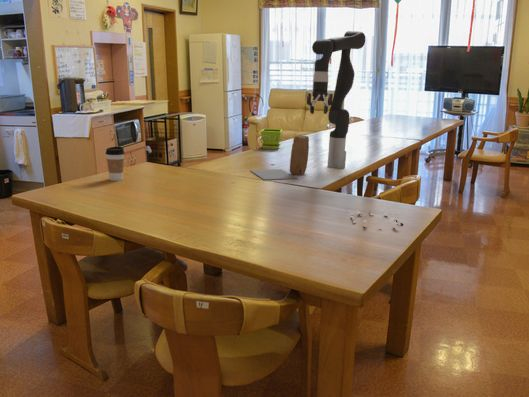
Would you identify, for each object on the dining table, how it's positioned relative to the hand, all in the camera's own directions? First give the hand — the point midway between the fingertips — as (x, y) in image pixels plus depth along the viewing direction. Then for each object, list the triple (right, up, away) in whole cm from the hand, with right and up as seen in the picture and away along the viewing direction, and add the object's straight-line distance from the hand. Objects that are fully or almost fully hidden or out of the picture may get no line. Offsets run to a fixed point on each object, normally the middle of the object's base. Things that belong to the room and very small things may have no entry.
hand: (318, 113), depth 253 cm
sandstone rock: (-11, -31, +5) cm, 33 cm away
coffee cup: (-98, -35, -23) cm, 107 cm away
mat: (-24, -32, 0) cm, 40 cm away
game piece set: (+13, -53, -73) cm, 91 cm away
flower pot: (-24, -9, +87) cm, 90 cm away
